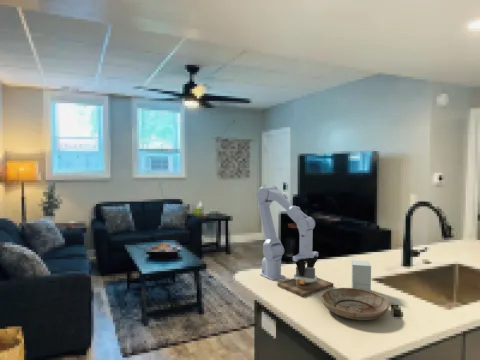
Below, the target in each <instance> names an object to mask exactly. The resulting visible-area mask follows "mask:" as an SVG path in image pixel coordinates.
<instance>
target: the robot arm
mask: <svg viewBox="0 0 480 360" xmlns="http://www.w3.org/2000/svg"><path fill="white" fill-rule="evenodd" d="M256 197H257V209H258V214H259V217H260V221H261V227H262V230H263V233H264V234H263V235H264V238H265V240H264V242H263V244H262V248H263V249H262V253H263V258H262V260H261V273H260V276H262V277H264V278H267V279H269V280H270V281H275V280H278V279H282V278H286V277H285V275H283V274H282V258H283V255H284V254H285V248H284V245H283V243H282V242H281V239H279V238H278V237H277V233H276V229H275V224H274V222H273V217H272V212H271V208H270V206H271V204H272V203H273V202H276V203H278V204H279V205H280V206H281V207H282V208H283V209H285V210H286V211H287V213H286V214H287V216H288V217H289V218H290V219H291V220H292V221H293V222H294V223H295V224H296V227H297V230H298V233H299V246H298V247H299V248H298V249H299V250H298V253H297V254H296V255H293V256H292V261H293V262H294V263H295V265H296V267H297V268H298V271H299V275H300V276H304V271H305V267H310V268H315V264H316V263H317V262H318V257H319V252H318V251H313V235H314V234H313V230H314V229H315V227H316V221H315V219H314V218H313V217H312V216H308V215H307V214H306V213H304V212H303V211H302V210H301V207H300V206H296V205H293V204H292V203H291V202H290V200H288V199H287V198H286V197H285V196H284V195H283V193H282V191H281V189H279V188H278V186H275V185H272V186H271V185H270V186H260V187H259V188H258V190H257V191H256ZM304 260H305V261H304Z"/></svg>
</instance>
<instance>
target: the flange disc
mask: <svg viewBox="0 0 480 360" xmlns="http://www.w3.org/2000/svg"><path fill="white" fill-rule="evenodd" d="M293 278H294V279H295V280H296V279H300V281H299V284H304V283H312V282H315V281H317V278H318V277H317V275H316V267H314V268H310V267H307V266H305V271H304V276H300V275H299V271H298V268H297V266H296V268H295V274H294V277H293Z"/></svg>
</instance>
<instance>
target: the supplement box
mask: <svg viewBox="0 0 480 360" xmlns="http://www.w3.org/2000/svg"><path fill="white" fill-rule="evenodd" d="M371 287H372V265H371V263H370V261H369V260H356V259H355V260H354V259H352V260H351V288H356V289H362V290H367V291H371V292H372V290H371V289H372V288H371Z"/></svg>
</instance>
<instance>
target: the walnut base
mask: <svg viewBox="0 0 480 360" xmlns="http://www.w3.org/2000/svg"><path fill="white" fill-rule="evenodd" d="M299 281H300V279H296V280H295V279H294V277H293V278H290V279H287V280H284V281H279V282H277V287H278V288H281V289H283V290H285V291H288V292H289V293H292V294H295V295H296V296H299V297H301V298H303V297H307V296H310V295H313V294H315V293H319V292H322V291H324V290H327V289H328V290H329V289H330V288H331V289H332V288H333V287H334V283H333V282H331V281H328V280H325V279H322V278H319V277H317V281H315V282H312V283H304V284H299Z"/></svg>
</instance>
